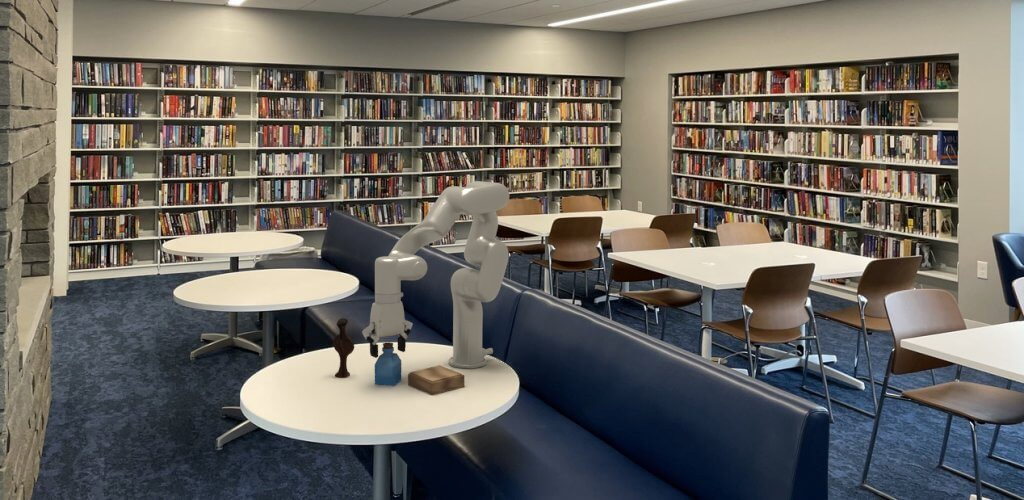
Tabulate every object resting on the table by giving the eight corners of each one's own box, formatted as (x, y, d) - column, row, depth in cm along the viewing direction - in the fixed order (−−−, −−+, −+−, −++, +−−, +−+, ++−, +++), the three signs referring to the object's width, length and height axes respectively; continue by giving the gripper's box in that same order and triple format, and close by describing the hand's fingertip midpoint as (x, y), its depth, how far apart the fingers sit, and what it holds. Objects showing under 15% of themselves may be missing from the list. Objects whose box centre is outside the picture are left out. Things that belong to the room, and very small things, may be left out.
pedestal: (439, 377, 244) (439, 364, 244) (464, 386, 236) (464, 373, 235) (407, 385, 236) (407, 372, 236) (432, 395, 228) (432, 381, 227)
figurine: (358, 374, 245) (357, 318, 242) (349, 379, 240) (349, 322, 238) (338, 372, 248) (337, 316, 245) (329, 376, 243) (328, 319, 240)
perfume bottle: (394, 386, 235) (394, 347, 233) (374, 384, 236) (374, 345, 234) (401, 380, 241) (401, 341, 239) (382, 378, 242) (382, 340, 240)
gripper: (404, 292, 243) (404, 346, 246) (355, 299, 232) (356, 356, 234) (418, 296, 238) (418, 351, 240) (369, 304, 226) (370, 361, 229)
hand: (388, 353), depth 237 cm, fingers open, 9 cm apart
